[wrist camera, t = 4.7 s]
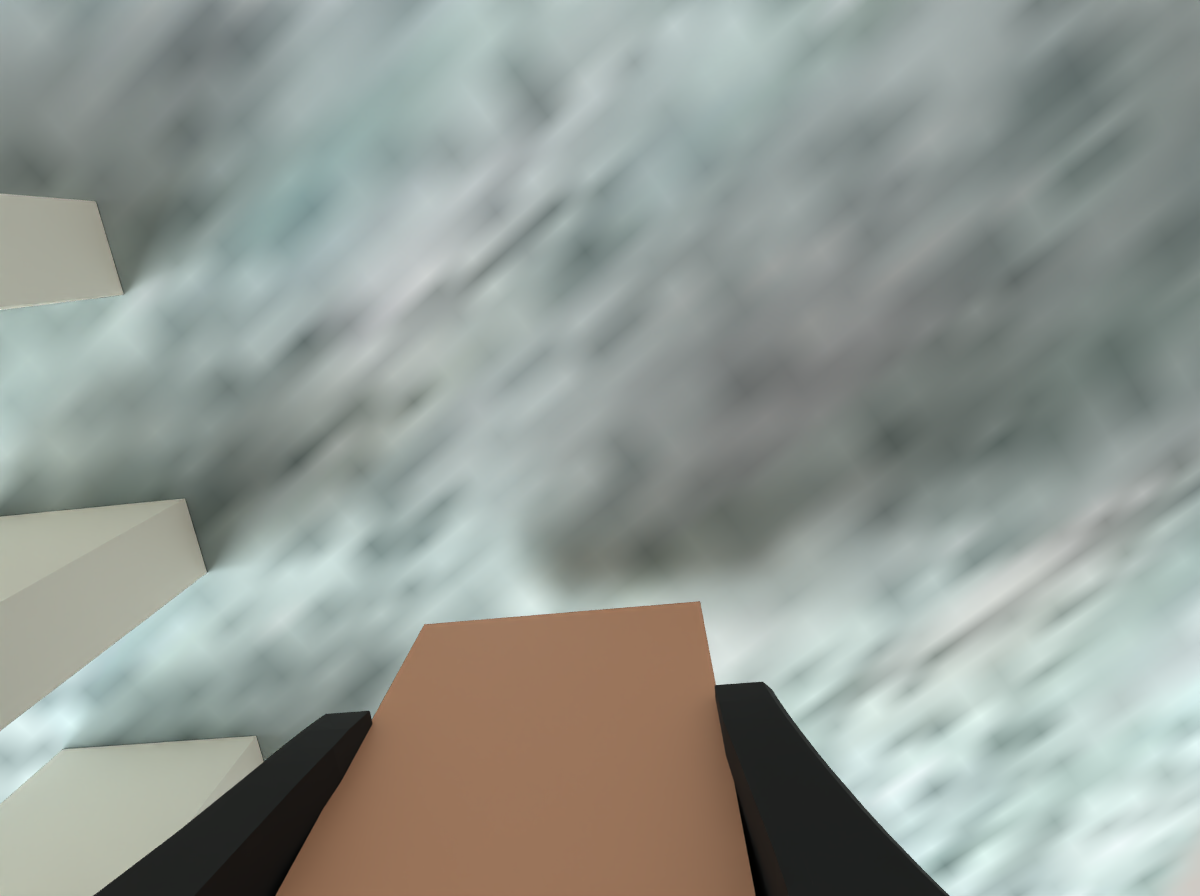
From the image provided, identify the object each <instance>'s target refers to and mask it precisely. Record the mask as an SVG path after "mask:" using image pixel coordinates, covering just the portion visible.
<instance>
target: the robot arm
mask: <svg viewBox="0 0 1200 896" xmlns="http://www.w3.org/2000/svg"><path fill="white" fill-rule="evenodd" d="M714 686H715V698H716V704H717V710H718V715H719V721H720V726H721V732H722V737H723V743H724V748H725V754H726V757H727V761H728V764H729V767H730V770H731V773H732V777H733V780H734V784H735V790H736V795H737V800H738V805H739V811H740V816H741V821H742V827H743V832H744V837H745V843H746V848H747V853H748V858H749V864H750V869H751V874H752V880H753V885H754V890H755V896H949V895H948V894H947V893H946V892H945V891H944V890H943V889H942V888H941V887H940V886H939V885H938V884H937V883H936V882H935V881H934V880H933V879H932V878H931V877H930V876H929V875H928V874H927V873H926V872H925V871H924V870H923V869H922V868H921V867H920V866H919V865H918V864H917V863H916V862H915V861H914V860H913V859H912V858H911V857H910V856H909V855H908V854H907V853H906V852H905V851H904V849H903V848H902V847H901V846H900V845H899V844H898V843H897V842H896V841H895V840H894V839H893V838H892V837H891V836H890V835H889V834H888V833H887V832H886V831H885V830H884V828H883V827H882V826H881V825H880V824H879V823H878V822H877V821H876V820H875V819H874V818H873V817H872V815H871V814H870V813H869V812H868V811H867V810H866V809H865V808H864V806H863V805H862V804H861V803H860V802H859V801H858V800H857V798H856V797H855V796H854V795H853V794H852V793H851V791H850V790H849V789H848V788H847V787H846V786H845V785H844V783H843V782H842V781H841V780H840V779H839V778H838V776H837V775H836V774H835V773H834V772H833V771H832V770H831V768H830V767H829V766H828V765H827V763H826V762H825V761H824V760H823V759H822V757H821V756H820V755H819V754H818V752H817V751H816V750H815V749H814V747H813V746H812V745H811V743H810V742H809V741H808V740H807V738H806V737H805V736H804V734H803V733H802V732H801V731H800V729H799V728H798V726H797V725H796V724H795V722H794V721H793V720H792V718H791V717H790V716H789V714H788V713H787V711H786V710H785V709H784V707H783V706H782V704H781V703H780V701H779V700H778V698H777V697H776V695H775V694H774V692H773V690H772V689H771V688H770V687H768V686H767V685H766V684H765V683H764V682H753V683H740V684H726V685H714ZM372 724H373V723H372V719H371V715H370V711H361V712H347V713H334V714H325V715H324V716H322V717H321V718H319V719H318V720H317V721H315V722H314V723H312V724H311V725H310V726H308V727H307V728H306V729H304V730H303V731H302V732H300V733H299V734H298V735H297V736H295V737H294V738H293V739H291V740H290V741H289V742H288V743H286V744H285V745H284V746H283V747H281V748H280V749H279V750H278V751H276V752H275V753H274V754H273V755H271V756H270V757H269V758H268V759H267V760H265V761H264V762H263V763H262V764H260V765H259V766H258V767H257V768H255V769H254V770H253V771H252V772H251V773H249V774H248V775H247V776H246V777H244V778H243V779H242V780H241V781H240V782H238V783H237V784H236V785H235V786H233V787H232V788H231V789H230V790H228V791H227V792H226V793H225V794H223V795H222V796H221V797H220V798H218V799H217V800H216V801H215V802H214V803H212V804H211V805H210V806H209V807H207V808H206V809H205V810H204V811H202V812H201V813H200V814H199V815H197V816H196V817H195V818H194V819H192V820H191V821H190V822H189V823H187V824H186V825H185V826H184V827H183V828H181V829H180V830H179V831H177V832H176V833H175V834H174V835H172V836H171V837H170V838H168V839H167V840H166V841H164V842H163V843H162V844H161V845H159V846H158V847H157V848H155V849H154V850H153V851H151V852H150V853H149V854H147V855H146V856H145V857H143V858H142V859H141V860H139V861H138V862H137V863H136V864H134V865H133V866H132V867H130V868H129V869H128V870H126V871H125V872H124V873H122V874H121V875H120V876H118V877H117V878H116V879H114V880H113V881H112V882H110V883H109V884H108V885H107V886H105V887H104V888H103V889H101V890H100V891H99V892H97V893H96V894H95V895H93V896H276V894H277V892H278V890H279V888H280V886H281V885H282V883H283V881H284V879H285V877H286V876H287V874H288V872H289V870H290V868H291V866H292V865H293V863H294V861H295V859H296V857H297V855H298V854H299V852H300V850H301V848H302V846H303V845H304V843H305V841H306V839H307V837H308V835H309V834H310V832H311V830H312V828H313V826H314V825H315V823H316V821H317V819H318V817H319V815H320V814H321V812H322V810H323V808H324V807H325V805H326V804H327V802H328V801H329V799H330V798H331V796H332V795H333V793H334V792H335V790H336V789H337V787H338V786H339V784H340V783H341V781H342V779H343V777H344V776H345V774H346V772H347V770H348V768H349V766H350V764H351V763H352V761H353V759H354V757H355V755H356V753H357V752H358V750H359V748H360V746H361V744H362V742H363V741H364V739H365V737H366V735H367V733H368V731H369V730H370V728H371V726H372Z"/></svg>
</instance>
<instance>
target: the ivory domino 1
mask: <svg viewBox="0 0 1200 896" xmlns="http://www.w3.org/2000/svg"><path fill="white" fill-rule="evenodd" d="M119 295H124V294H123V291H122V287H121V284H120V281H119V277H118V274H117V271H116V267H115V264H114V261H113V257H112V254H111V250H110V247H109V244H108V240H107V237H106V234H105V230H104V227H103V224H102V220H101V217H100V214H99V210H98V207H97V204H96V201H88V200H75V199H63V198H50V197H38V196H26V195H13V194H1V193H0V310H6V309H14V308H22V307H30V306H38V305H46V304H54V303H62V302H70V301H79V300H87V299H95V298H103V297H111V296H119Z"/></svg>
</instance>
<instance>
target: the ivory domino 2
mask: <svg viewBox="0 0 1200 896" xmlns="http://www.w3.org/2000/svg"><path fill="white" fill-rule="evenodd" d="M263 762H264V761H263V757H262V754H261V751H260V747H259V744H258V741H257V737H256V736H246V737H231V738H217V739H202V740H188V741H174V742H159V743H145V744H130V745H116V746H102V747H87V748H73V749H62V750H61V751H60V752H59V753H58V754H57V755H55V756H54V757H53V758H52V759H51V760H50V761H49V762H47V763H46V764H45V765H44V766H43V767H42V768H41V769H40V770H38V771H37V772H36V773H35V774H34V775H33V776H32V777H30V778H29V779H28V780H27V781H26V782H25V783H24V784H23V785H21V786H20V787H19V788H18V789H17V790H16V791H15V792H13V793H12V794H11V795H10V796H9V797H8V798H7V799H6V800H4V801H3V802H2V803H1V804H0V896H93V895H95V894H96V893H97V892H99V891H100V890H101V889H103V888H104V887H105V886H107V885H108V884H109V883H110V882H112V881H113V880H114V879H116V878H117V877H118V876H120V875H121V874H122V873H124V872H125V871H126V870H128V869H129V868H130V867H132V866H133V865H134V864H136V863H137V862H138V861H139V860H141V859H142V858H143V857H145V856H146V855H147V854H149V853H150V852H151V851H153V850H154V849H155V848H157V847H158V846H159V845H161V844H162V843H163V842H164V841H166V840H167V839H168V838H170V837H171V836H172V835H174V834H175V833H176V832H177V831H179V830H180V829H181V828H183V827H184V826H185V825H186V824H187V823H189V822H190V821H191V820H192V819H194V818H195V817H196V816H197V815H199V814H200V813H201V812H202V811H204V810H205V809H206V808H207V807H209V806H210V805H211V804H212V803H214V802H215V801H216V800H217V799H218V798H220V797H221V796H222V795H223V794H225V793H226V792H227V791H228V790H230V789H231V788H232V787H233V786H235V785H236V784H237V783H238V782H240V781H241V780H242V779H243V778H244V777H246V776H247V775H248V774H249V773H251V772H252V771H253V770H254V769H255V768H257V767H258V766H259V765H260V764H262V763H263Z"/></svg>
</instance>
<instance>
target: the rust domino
mask: <svg viewBox="0 0 1200 896" xmlns="http://www.w3.org/2000/svg"><path fill="white" fill-rule="evenodd" d="M714 685H716V684H715V678H714V673H713V668H712V663H711V657H710V652H709V647H708V641H707V636H706V631H705V625H704V620H703V615H702V610H701V604H700V601H699V602H687V603H675V604H663V605H651V606H639V607H627V608H615V609H603V610H591V611H580V612H568V613H556V614H544V615H532V616H520V617H508V618H496V619H484V620H472V621H460V622H448V623H436V624H424V626H423V628H422V630H421V631H420V633H419V635H418V637H417V639H416V640H415V642H414V644H413V646H412V648H411V650H410V651H409V653H408V655H407V657H406V659H405V661H404V662H403V664H402V666H401V668H400V670H399V671H398V673H397V675H396V677H395V679H394V681H393V682H392V684H391V686H390V688H389V690H388V692H387V693H386V695H385V697H384V699H383V701H382V702H381V704H380V706H379V708H378V710H377V712H376V713H375V715H374V717H373V719H372V723H373V724H372V726H371V728H370V730H369V731H368V733H367V735H366V737H365V739H364V741H363V742H362V744H361V746H360V748H359V750H358V752H357V753H356V755H355V757H354V759H353V761H352V763H351V764H350V766H349V768H348V770H347V772H346V774H345V776H344V777H343V779H342V781H341V783H340V784H339V786H338V787H337V789H336V790H335V792H334V793H333V795H332V796H331V798H330V799H329V801H328V802H327V804H326V805H325V807H324V808H323V810H322V812H321V814H320V815H319V817H318V819H317V821H316V823H315V825H314V826H313V828H312V830H311V832H310V834H309V835H308V837H307V839H306V841H305V843H304V845H303V846H302V848H301V850H300V852H299V854H298V855H297V857H296V859H295V861H294V863H293V865H292V866H291V868H290V870H289V872H288V874H287V876H286V877H285V879H284V881H283V883H282V885H281V886H280V888H279V890H278V892H277V894H276V896H755V890H754V885H753V880H752V874H751V869H750V864H749V858H748V853H747V848H746V843H745V837H744V832H743V827H742V821H741V816H740V811H739V805H738V800H737V795H736V790H735V784H734V780H733V777H732V773H731V770H730V767H729V764H728V761H727V757H726V754H725V748H724V743H723V737H722V732H721V726H720V721H719V715H718V710H717V704H716V698H715V686H714Z"/></svg>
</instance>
